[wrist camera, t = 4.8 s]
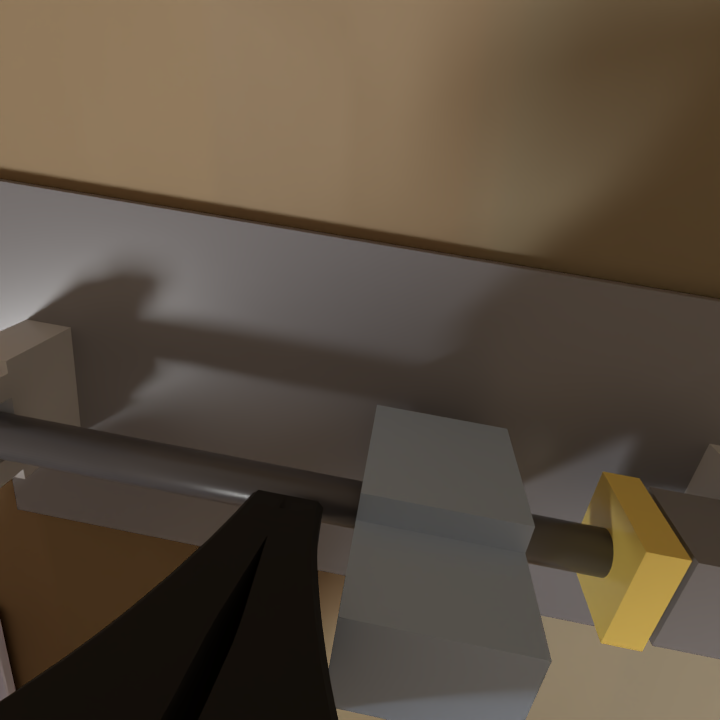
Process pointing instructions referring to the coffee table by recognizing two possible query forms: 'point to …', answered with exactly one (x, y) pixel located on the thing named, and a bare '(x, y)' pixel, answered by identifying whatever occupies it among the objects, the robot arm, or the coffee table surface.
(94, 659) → the robot arm
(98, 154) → the coffee table surface
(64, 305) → the linear slide rail
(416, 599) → the sleeve
